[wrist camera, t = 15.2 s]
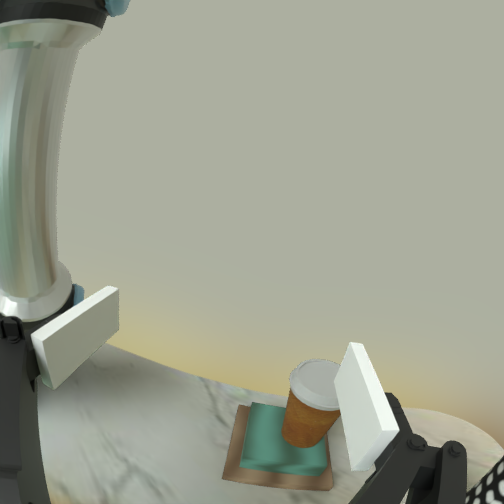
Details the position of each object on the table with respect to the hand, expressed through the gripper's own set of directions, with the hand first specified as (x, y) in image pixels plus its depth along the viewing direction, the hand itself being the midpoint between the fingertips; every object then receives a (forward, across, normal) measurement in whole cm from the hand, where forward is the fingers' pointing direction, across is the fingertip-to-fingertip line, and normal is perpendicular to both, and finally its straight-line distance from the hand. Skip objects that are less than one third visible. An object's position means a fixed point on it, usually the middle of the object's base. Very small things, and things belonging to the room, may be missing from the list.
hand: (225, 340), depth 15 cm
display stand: (+17, +10, -30) cm, 36 cm away
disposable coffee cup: (+17, +12, -26) cm, 33 cm away
